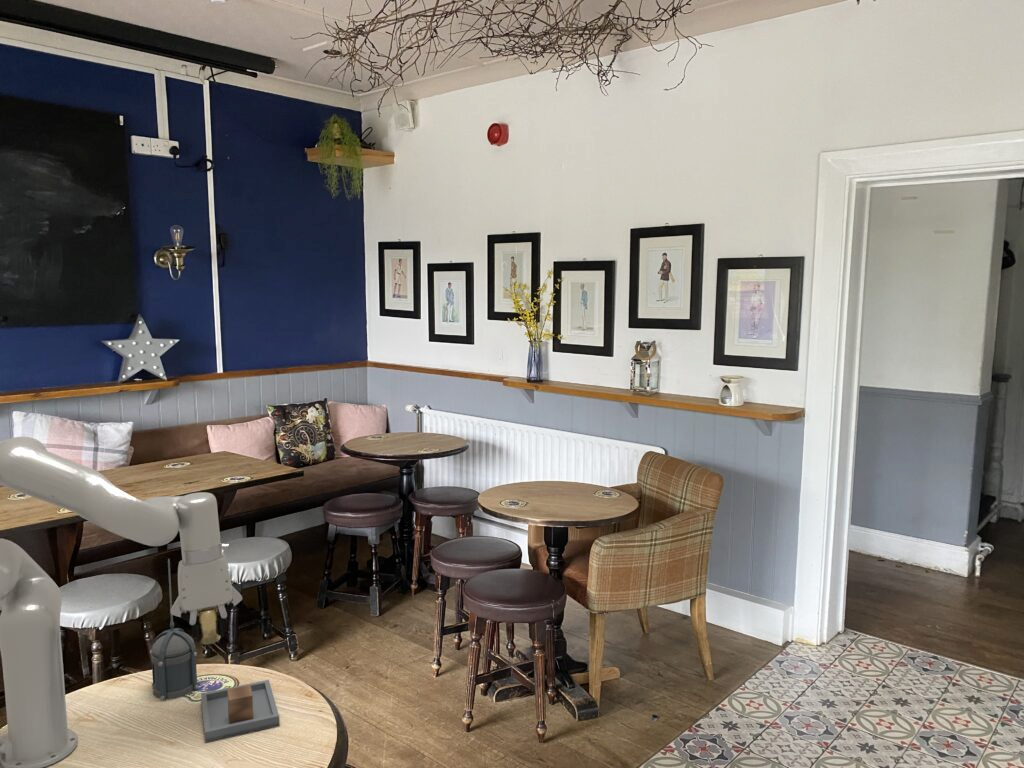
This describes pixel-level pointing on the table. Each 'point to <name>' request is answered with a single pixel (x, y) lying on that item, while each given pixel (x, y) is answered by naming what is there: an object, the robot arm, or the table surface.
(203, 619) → the brass cylinder
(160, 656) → the lantern
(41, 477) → the robot arm
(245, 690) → the walnut block
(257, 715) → the tray
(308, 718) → the table surface
